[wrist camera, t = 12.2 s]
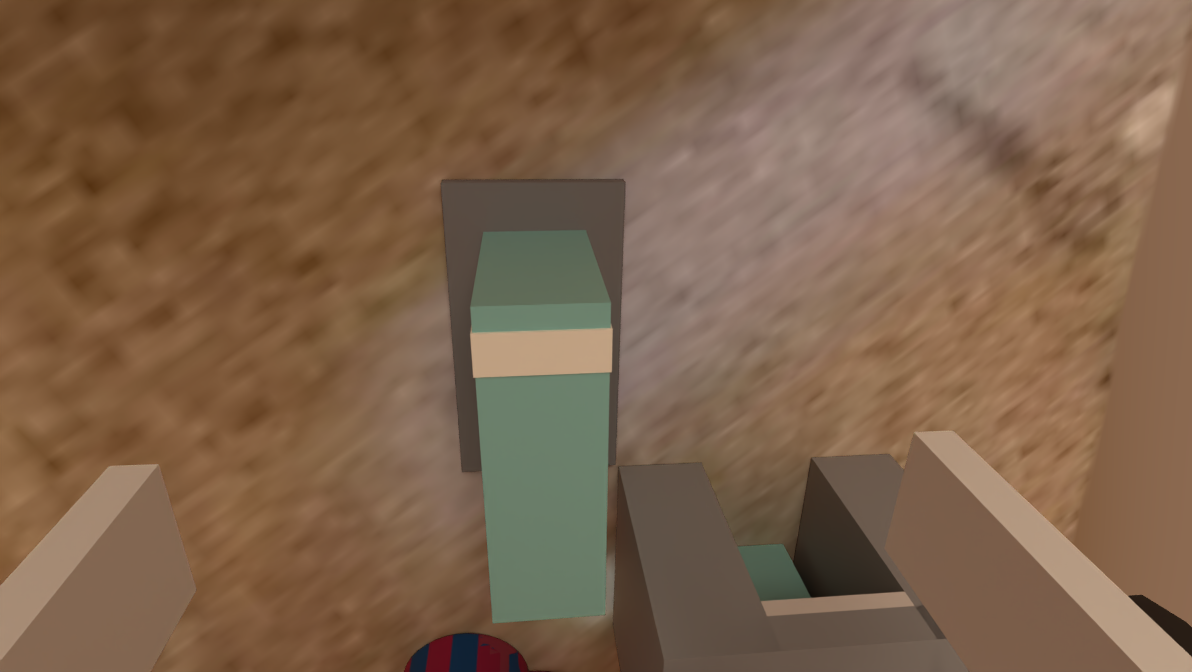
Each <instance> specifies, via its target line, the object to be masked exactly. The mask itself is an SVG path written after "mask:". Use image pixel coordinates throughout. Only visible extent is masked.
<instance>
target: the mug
mask: <svg viewBox="0 0 1192 672" xmlns="http://www.w3.org/2000/svg"><path fill="white" fill-rule="evenodd" d="M404 672H549V671H528V667H527V664H526V662H525V660H524V658H523V657H522V656H521V654H520V653H519V652H518V651H517V650H516V649H515V648H513V647H512V646H511V645H509V644H508V643H506V642H504V641H502V640H500V639H498V638H495V637H492V636H488V635H483V634H475V633H463V634H454V635H449V636H445V637H442V638H439V639H436V640H434V641H432V642H430V643H428V644H427V645H425V646H424V647H422V648H421V649H420V650H418V651H417V652H416V653H415V654H414V655H413V656H412V657H411V659H410V660H409V662H408V663H407V665H406V667H405V670H404Z"/></svg>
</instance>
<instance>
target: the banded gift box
mask: <svg viewBox="0 0 1192 672" xmlns="http://www.w3.org/2000/svg"><path fill="white" fill-rule="evenodd" d="M470 310H471V324H472V325H471V332H470V339H471V353H472V367H473V378H475V380H476V395H477V409H478V423H479V437H480V451H481V465H482V479H483V493H484V508H485V522H486V536H487V550H488V564H489V578H490V592H491V606H492V621H493V623H506V622H519V621H533V620H546V619H559V618H573V617H586V616H599V615H605V600H606V546H607V492H608V437H609V383H610V372H612V337H613V329H612V326H611V301H610V298H609V295H608V292H607V290H606V287H605V284H604V281H603V278H602V275H601V272H600V269H599V267H598V264H597V261H596V258H595V255H594V252H593V249H592V246H591V244H590V241H589V238H588V235H587V232H586V230H558V231H506V232H483V237H482V242H481V248H480V254H479V259H478V265H477V271H476V277H475V282H474V288H473V294H472V300H471V305H470Z"/></svg>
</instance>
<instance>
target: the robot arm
mask: <svg viewBox="0 0 1192 672" xmlns="http://www.w3.org/2000/svg"><path fill="white" fill-rule="evenodd" d="M884 549H885V550H886V552H887V553H888V554H889V556H890V557H891V559H892V560H893V562H894V563H895V565H896V566H897V567H898V569H899V570H900V572H901V573H902V575H903V576H904V578H905V579H906V580H907V582H908V583H909V585H910V586H911V588H912V589H913V591H914V592H915V593H916V595H917V596H918V598H919V599H920V601H921V602H922V604H923V605H924V607H925V608H926V609H927V611H928V612H929V614H930V615H931V617H932V618H933V620H934V621H935V622H936V624H937V625H938V627H939V628H940V630H941V631H942V633H943V634H944V635H945V637H946V638H947V640H948V641H949V643H950V644H951V646H952V647H953V648H954V650H955V651H956V653H957V654H958V656H959V657H960V659H961V660H962V662H963V663H964V664H965V666H966V667H967V669H968V670H969V672H1192V627H1191V626H1190V625H1189V624H1188V623H1186V622H1185V621H1184V620H1182V619H1180V618H1179V617H1177V616H1175V615H1174V614H1172V613H1170V612H1169V611H1167V610H1166V609H1164V608H1163V607H1161V606H1159V605H1158V604H1156V603H1154V602H1153V601H1151V600H1150V599H1148V598H1146V597H1145V596H1143V595H1132V596H1127V595H1126V594H1125V593H1124V592H1123V591H1122V590H1120V588H1118V587H1117V586H1116V585H1115V584H1114V583H1113V582H1112V581H1111V580H1110V579H1109V578H1108V577H1107V576H1106V575H1105V574H1104V573H1102V571H1101V570H1099V569H1098V568H1097V567H1096V566H1095V565H1094V564H1093V563H1092V562H1091V561H1090V560H1089V559H1088V558H1087V557H1086V556H1084V554H1083V553H1082V552H1081V551H1079V550H1078V549H1077V548H1076V547H1075V546H1074V545H1073V544H1072V543H1071V542H1070V541H1069V540H1068V539H1067V538H1066V537H1065V536H1064V535H1063V534H1062V533H1061V532H1059V531H1058V530H1057V529H1056V528H1055V527H1054V526H1053V525H1052V524H1051V523H1050V522H1049V521H1048V520H1047V519H1046V518H1045V517H1044V516H1043V515H1042V514H1040V513H1039V512H1038V511H1037V510H1036V509H1035V508H1034V507H1033V506H1032V505H1031V504H1030V503H1029V502H1028V501H1027V500H1026V499H1025V498H1024V497H1023V496H1021V495H1020V494H1019V493H1018V492H1017V491H1016V490H1015V489H1014V488H1013V487H1012V486H1011V485H1010V484H1009V483H1008V482H1007V481H1006V480H1005V479H1004V478H1003V477H1001V476H1000V475H999V474H998V473H997V472H996V471H995V470H994V469H993V468H992V467H991V466H990V465H989V464H988V463H987V462H986V461H985V460H984V459H982V458H981V457H980V456H979V455H978V454H977V453H976V452H975V451H974V450H973V449H972V448H971V447H970V446H969V445H968V444H967V443H966V442H965V441H964V440H962V439H961V438H960V437H959V436H958V435H957V434H956V433H955V432H954V431H931V432H914V434H913V438H912V442H911V446H910V450H909V454H908V457H907V461H906V465H905V469H904V473H903V477H902V481H901V485H900V489H899V493H898V497H897V501H896V505H895V508H894V512H893V516H892V520H891V524H890V528H889V532H888V536H887V540H886V544H885V548H884ZM196 590H197V589H196V586H195V583H194V579H193V576H192V573H191V569H190V566H189V563H188V559H187V556H186V553H185V550H184V546H183V543H182V540H181V536H180V533H179V530H178V526H177V523H176V520H175V516H174V513H173V510H172V506H171V503H170V500H169V496H168V493H167V490H166V486H165V483H164V480H163V477H162V473H161V470H160V467H159V464H148V465H125V466H109V467H108V468H107V469H106V470H105V471H104V472H103V473H102V474H101V476H100V477H99V478H98V479H97V480H96V481H95V482H94V483H93V484H92V485H91V487H90V488H89V489H88V490H87V491H86V492H85V493H84V494H83V495H82V496H81V498H80V499H79V500H78V501H77V502H76V503H75V504H74V505H73V506H72V507H71V508H70V510H69V511H68V512H67V513H66V514H65V515H64V516H63V517H62V518H61V519H60V521H59V522H58V523H57V524H56V525H55V526H54V527H53V528H52V529H51V530H50V532H49V533H48V534H47V535H46V536H45V537H44V538H43V539H42V540H41V541H40V543H39V544H38V545H37V546H36V547H35V548H34V549H33V550H32V551H31V552H30V553H29V555H28V556H27V557H26V558H25V559H24V560H23V561H22V562H21V563H20V564H19V566H18V567H17V568H16V569H15V570H14V571H13V572H12V573H11V574H10V575H9V577H8V578H7V579H6V580H5V581H4V582H3V583H2V584H1V585H0V672H151V670H152V668H153V667H154V665H155V663H156V661H157V660H158V658H159V656H160V654H161V652H162V651H163V649H164V647H165V645H166V644H167V642H168V640H169V638H170V636H171V635H172V633H173V631H174V629H175V627H176V626H177V624H178V622H179V620H180V619H181V617H182V615H183V613H184V611H185V610H186V608H187V606H188V604H189V603H190V601H191V599H192V597H193V595H194V594H195V592H196Z"/></svg>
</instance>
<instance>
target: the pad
mask: <svg viewBox="0 0 1192 672" xmlns="http://www.w3.org/2000/svg"><path fill="white" fill-rule="evenodd" d="M441 193H442V207H443V220H444V234H445V247H446V261H447V275H448V288H449V302H450V316H451V329H452V343H453V357H454V370H455V384H456V398H457V411H458V425H459V439H460V452H461V466H462V472H475V471H482V465H481V451H480V437H479V423H478V409H477V395H476V380H475V378H473V367H472V353H471V339H470V332H471V325H472V324H471V310H470V305H471V300H472V294H473V288H474V282H475V277H476V271H477V265H478V259H479V254H480V248H481V242H482V237H483V232H506V231H558V230H586V232H587V235H588V238H589V241H590V244H591V246H592V249H593V252H594V255H595V258H596V261H597V264H598V267H599V269H600V272H601V275H602V278H603V281H604V284H605V287H606V290H607V292H608V295H609V298H610V301H611V326H612V329H613V337H612V372H610V383H609V437H608V465H616V437H617V408H618V380H619V351H620V323H621V294H622V266H623V237H624V209H625V181H624V180H623V179H553V180H442V181H441Z"/></svg>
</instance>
